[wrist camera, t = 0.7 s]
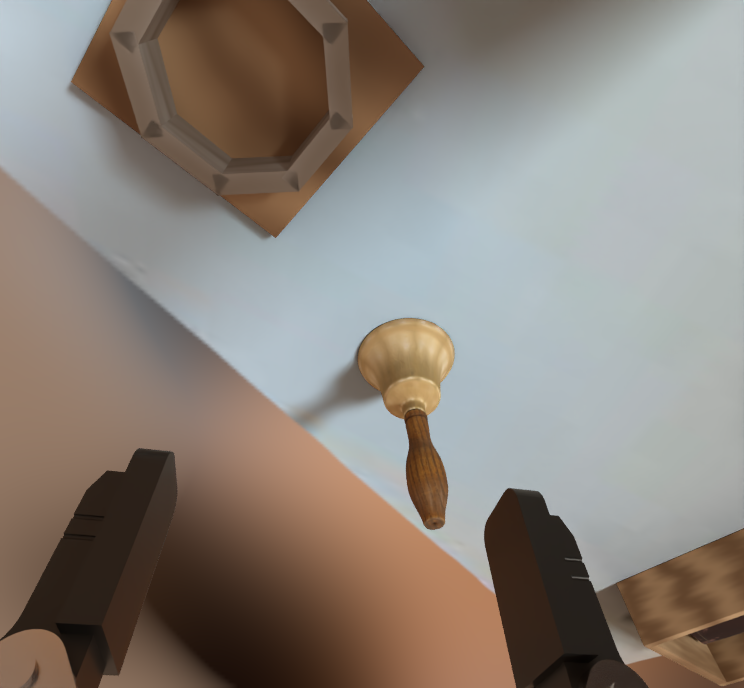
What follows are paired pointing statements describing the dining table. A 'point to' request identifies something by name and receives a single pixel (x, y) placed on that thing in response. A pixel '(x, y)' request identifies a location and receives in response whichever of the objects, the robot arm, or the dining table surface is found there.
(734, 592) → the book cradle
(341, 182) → the dining table surface
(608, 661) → the robot arm
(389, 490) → the dining table surface
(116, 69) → the collar dock
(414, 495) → the hand bell
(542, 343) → the dining table surface
